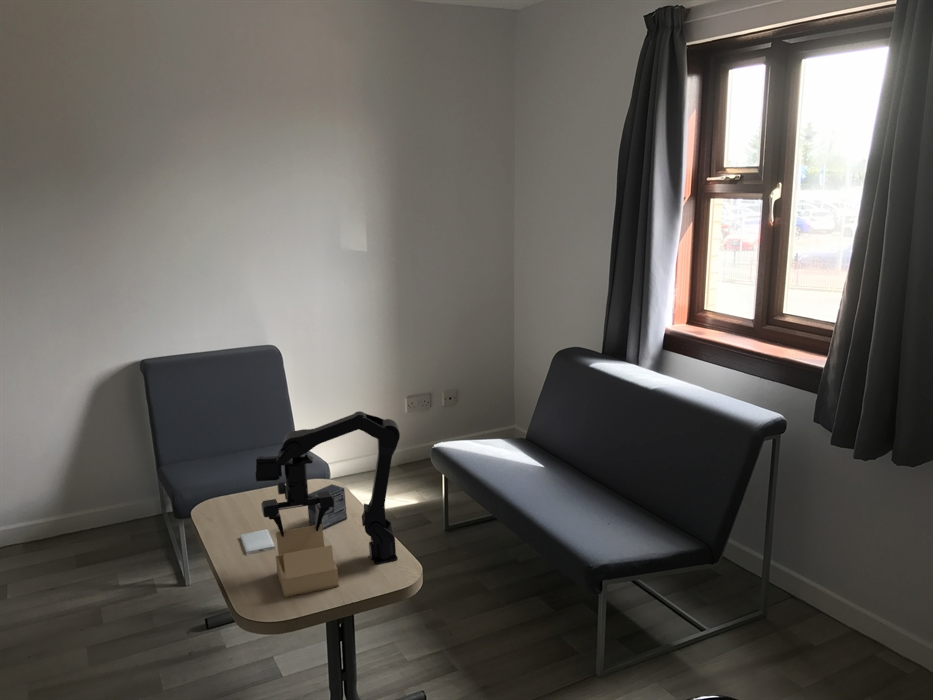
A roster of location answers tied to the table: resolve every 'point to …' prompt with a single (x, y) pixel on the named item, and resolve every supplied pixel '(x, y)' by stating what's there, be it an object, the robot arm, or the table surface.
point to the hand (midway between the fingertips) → (299, 533)
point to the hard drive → (257, 541)
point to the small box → (336, 512)
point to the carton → (305, 580)
